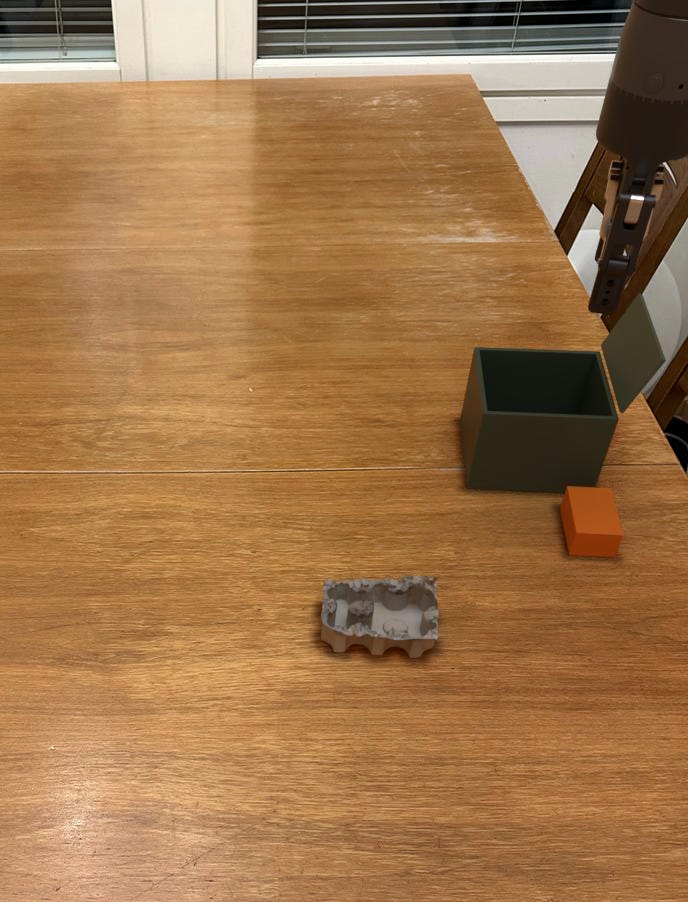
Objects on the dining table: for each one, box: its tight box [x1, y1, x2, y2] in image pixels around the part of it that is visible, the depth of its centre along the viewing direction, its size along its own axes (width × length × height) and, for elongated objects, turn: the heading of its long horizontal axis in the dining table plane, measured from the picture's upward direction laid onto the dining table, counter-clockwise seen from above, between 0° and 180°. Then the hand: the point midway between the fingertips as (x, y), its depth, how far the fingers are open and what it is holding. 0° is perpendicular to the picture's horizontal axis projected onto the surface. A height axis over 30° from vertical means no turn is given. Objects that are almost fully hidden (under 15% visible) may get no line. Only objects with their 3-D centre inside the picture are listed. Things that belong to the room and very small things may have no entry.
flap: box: [600, 293, 667, 414], centre depth 96 cm, size 6×12×1 cm
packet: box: [559, 486, 624, 559], centre depth 97 cm, size 4×7×3 cm, turn 174°
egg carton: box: [320, 575, 440, 659], centre depth 89 cm, size 11×8×4 cm
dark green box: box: [459, 346, 620, 494], centre depth 103 cm, size 13×12×10 cm
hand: (603, 286), depth 82 cm, fingers open, 8 cm apart
